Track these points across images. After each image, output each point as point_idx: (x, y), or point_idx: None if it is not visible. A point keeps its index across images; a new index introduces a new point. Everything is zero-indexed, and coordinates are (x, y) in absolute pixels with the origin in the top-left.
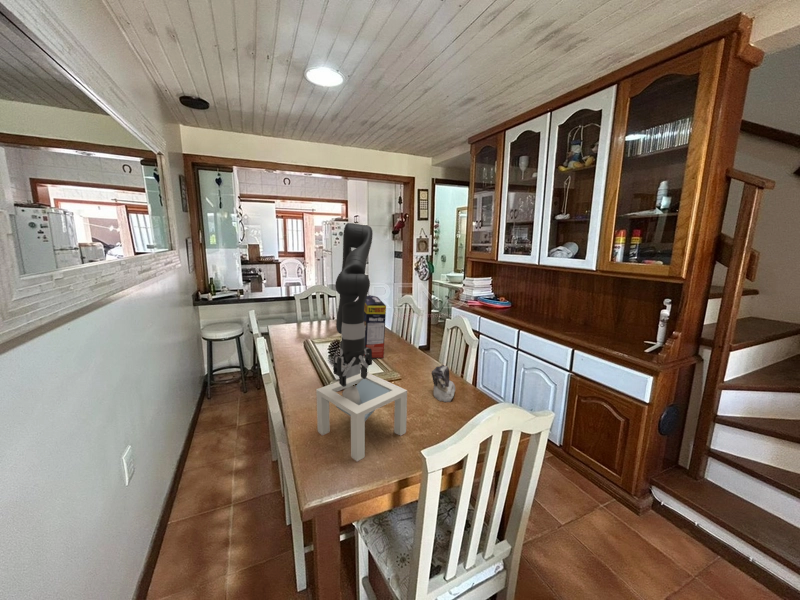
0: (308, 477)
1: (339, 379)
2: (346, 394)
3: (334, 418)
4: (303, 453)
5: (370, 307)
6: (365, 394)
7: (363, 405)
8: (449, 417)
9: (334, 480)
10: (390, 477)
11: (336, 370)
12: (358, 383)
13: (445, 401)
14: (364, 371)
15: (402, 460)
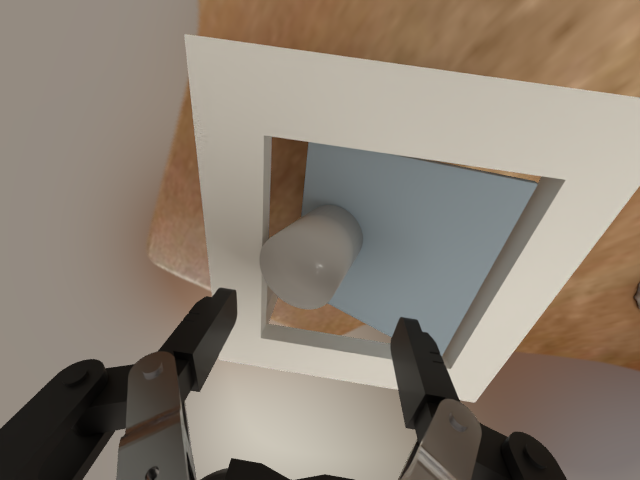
0: (170, 217)
1: (179, 326)
2: (273, 265)
3: (372, 56)
4: (192, 140)
5: None
6: (399, 257)
7: (272, 349)
8: (536, 329)
9: (206, 260)
10: (282, 322)
11: (70, 410)
12: (477, 172)
13: (636, 299)
14: (402, 397)
15: (330, 318)
